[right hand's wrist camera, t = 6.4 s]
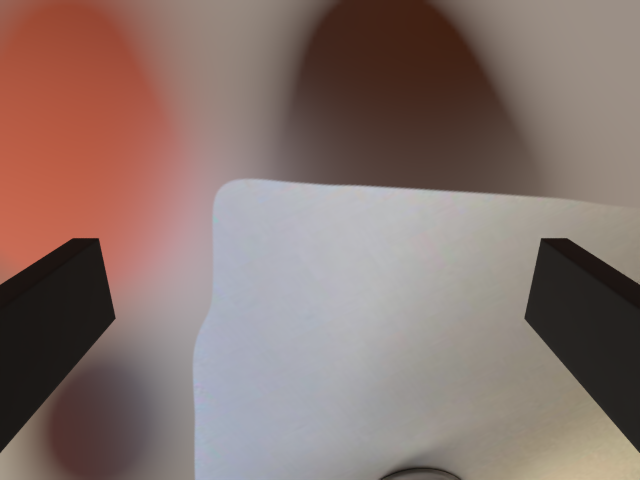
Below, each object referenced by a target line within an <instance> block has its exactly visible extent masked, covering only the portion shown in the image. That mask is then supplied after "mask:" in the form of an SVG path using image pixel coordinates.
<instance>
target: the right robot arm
mask: <svg viewBox="0 0 640 480" xmlns="http://www.w3.org/2000/svg"><path fill="white" fill-rule="evenodd" d="M524 319H525V320H526V321H527V322H528V323H529V324H530V326H531V327H532V328H533V329H534V330H535V331H536V333H537V334H538V335H539V336H540V337H541V338H542V340H543V341H544V342H545V343H546V344H547V345H548V347H549V348H550V349H551V350H552V351H553V352H554V354H555V355H556V356H557V357H558V358H559V359H560V361H561V362H562V363H563V364H564V365H565V366H566V368H567V369H568V370H569V371H570V372H571V373H572V375H573V376H574V377H575V378H576V379H577V380H578V382H579V383H580V384H581V385H582V386H583V387H584V389H585V390H586V391H587V392H588V393H589V394H590V396H591V397H592V398H593V399H594V400H595V401H596V402H597V404H598V405H599V406H600V407H601V408H602V409H603V411H604V412H605V413H606V414H607V415H608V416H609V418H610V419H611V420H612V421H613V422H614V423H615V425H616V426H617V427H618V428H619V429H620V430H621V432H622V433H623V434H624V435H625V436H626V437H627V439H628V440H629V441H630V442H631V443H632V444H633V446H634V447H635V448H636V449H637V450H638V451H639V453H640V285H639V284H638V283H636V282H635V281H633V280H631V279H630V278H628V277H627V276H625V275H624V274H622V273H620V272H619V271H617V270H616V269H614V268H613V267H611V266H610V265H608V264H606V263H605V262H603V261H602V260H600V259H599V258H597V257H596V256H594V255H592V254H591V253H589V252H588V251H586V250H585V249H583V248H581V247H580V246H578V245H577V244H575V243H574V242H572V241H571V240H569V239H567V238H541V242H540V247H539V252H538V256H537V261H536V266H535V271H534V275H533V280H532V285H531V290H530V294H529V299H528V304H527V309H526V313H525V318H524ZM114 320H115V314H114V309H113V304H112V299H111V294H110V290H109V285H108V280H107V275H106V271H105V266H104V261H103V257H102V252H101V247H100V242H99V239H98V238H73V239H71V240H69V241H68V242H66V243H65V244H63V245H62V246H60V247H59V248H57V249H55V250H54V251H52V252H51V253H49V254H48V255H46V256H45V257H43V258H41V259H40V260H38V261H37V262H35V263H34V264H32V265H30V266H29V267H27V268H26V269H24V270H23V271H21V272H20V273H18V274H17V275H15V276H13V277H12V278H10V279H9V280H7V281H5V282H4V283H2V284H1V285H0V453H1V451H2V450H3V449H4V448H5V447H6V446H7V444H8V443H9V442H10V441H11V440H12V439H13V437H14V436H15V435H16V434H17V433H18V432H19V430H20V429H21V428H22V427H23V426H24V425H25V423H26V422H27V421H28V420H29V419H30V418H31V416H32V415H33V414H34V413H35V412H36V411H37V409H38V408H39V407H40V406H41V405H42V404H43V402H44V401H45V400H46V399H47V398H48V397H49V396H50V394H51V393H52V392H53V391H54V390H55V388H56V387H57V386H58V385H59V384H60V383H61V382H62V380H63V379H64V378H65V377H66V376H67V374H68V373H69V372H70V371H71V370H72V369H73V367H74V366H75V365H76V364H77V363H78V362H79V360H80V359H81V358H82V357H83V356H84V355H85V353H86V352H87V351H88V350H89V349H90V348H91V346H92V345H93V344H94V343H95V342H96V341H97V340H98V338H99V337H100V336H101V335H102V334H103V332H104V331H105V330H106V329H107V328H108V327H109V326H110V324H111V323H112V322H113V321H114ZM382 480H459V479H458V478H456V477H455V476H453V475H451V474H448V473H446V472H442V471H439V470H433V469H411V470H405V471H401V472H398V473H395V474H392V475H390V476H388V477H386V478H384V479H382Z"/></svg>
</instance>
